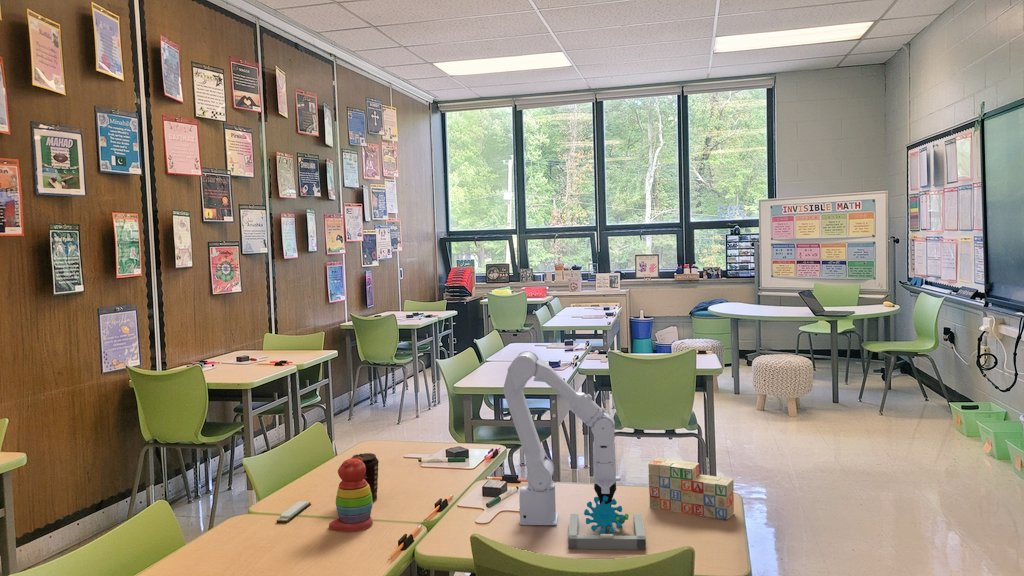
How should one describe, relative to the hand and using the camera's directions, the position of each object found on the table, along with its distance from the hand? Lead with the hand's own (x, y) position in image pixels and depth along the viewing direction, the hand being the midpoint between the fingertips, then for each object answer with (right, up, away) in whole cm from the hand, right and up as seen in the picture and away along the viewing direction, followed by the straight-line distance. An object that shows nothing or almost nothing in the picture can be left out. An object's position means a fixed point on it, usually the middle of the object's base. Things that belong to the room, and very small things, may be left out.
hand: (605, 512), depth 190 cm
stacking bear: (-66, -5, +3) cm, 66 cm away
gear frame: (-1, -3, -8) cm, 9 cm away
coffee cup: (-66, -4, +22) cm, 70 cm away
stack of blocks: (+24, -2, +7) cm, 25 cm away
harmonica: (-84, -5, +14) cm, 86 cm away
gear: (-1, -3, -5) cm, 6 cm away
